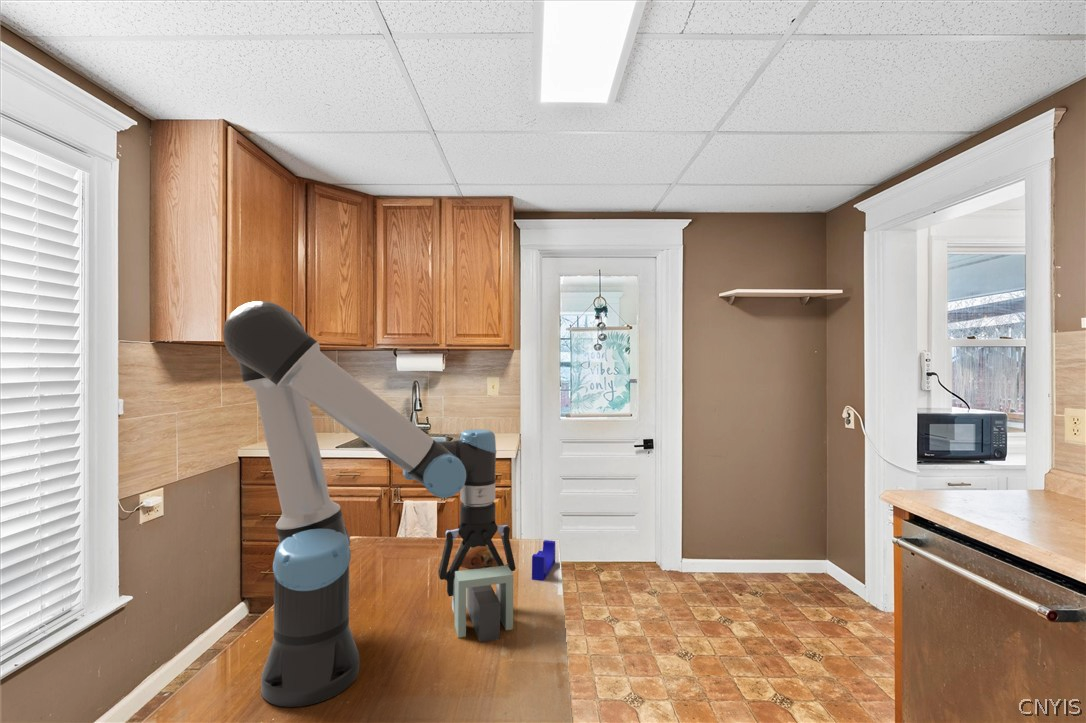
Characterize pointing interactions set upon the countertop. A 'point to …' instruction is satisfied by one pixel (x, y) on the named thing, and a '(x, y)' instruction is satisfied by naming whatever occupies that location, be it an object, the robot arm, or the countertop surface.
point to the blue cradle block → (543, 561)
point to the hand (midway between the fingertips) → (477, 606)
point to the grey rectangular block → (484, 612)
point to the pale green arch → (484, 578)
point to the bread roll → (477, 557)
